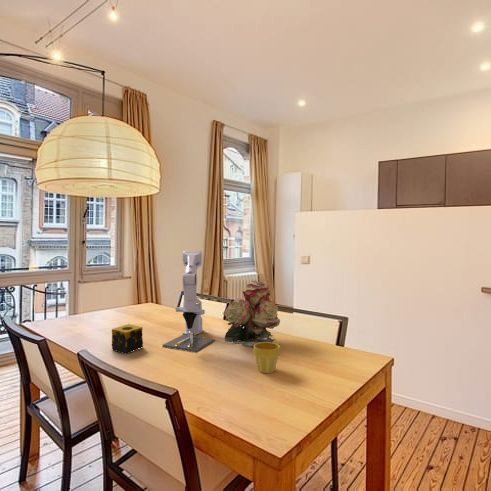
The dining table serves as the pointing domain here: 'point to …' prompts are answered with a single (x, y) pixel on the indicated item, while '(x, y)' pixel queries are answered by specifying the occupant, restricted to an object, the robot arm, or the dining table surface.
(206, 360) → the dining table surface
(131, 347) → the candle
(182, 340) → the plate
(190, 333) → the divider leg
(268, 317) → the rose bouquet
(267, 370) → the plant pot
